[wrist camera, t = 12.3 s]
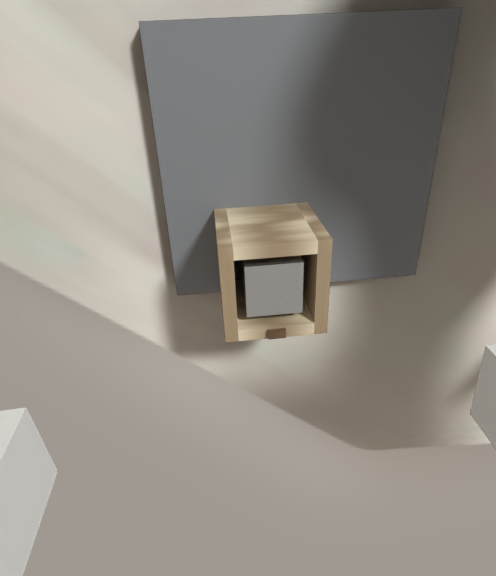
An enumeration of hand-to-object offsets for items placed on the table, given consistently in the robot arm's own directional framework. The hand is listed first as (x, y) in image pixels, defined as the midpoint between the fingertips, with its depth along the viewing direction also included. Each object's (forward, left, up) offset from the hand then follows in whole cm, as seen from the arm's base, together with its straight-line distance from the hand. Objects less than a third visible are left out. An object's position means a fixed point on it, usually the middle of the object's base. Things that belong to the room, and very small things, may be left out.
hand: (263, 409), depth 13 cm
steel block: (-3, +5, -23) cm, 24 cm away
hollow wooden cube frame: (-3, +5, -22) cm, 22 cm away
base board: (-6, -1, -23) cm, 24 cm away
